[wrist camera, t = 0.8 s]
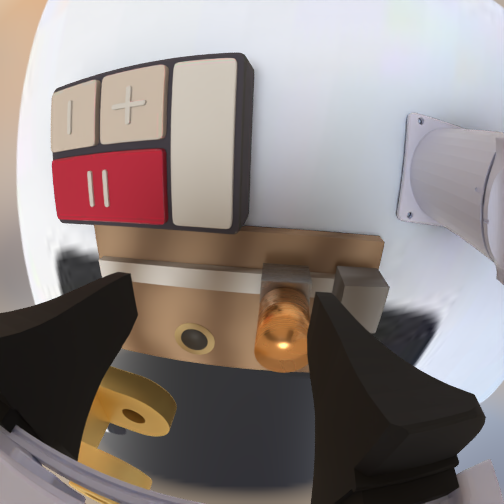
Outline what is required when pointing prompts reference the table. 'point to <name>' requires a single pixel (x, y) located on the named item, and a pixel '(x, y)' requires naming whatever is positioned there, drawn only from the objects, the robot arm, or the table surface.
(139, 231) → the board
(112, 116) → the button panel
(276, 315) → the slider leg
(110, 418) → the yellow clevis bracket
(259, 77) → the table surface
